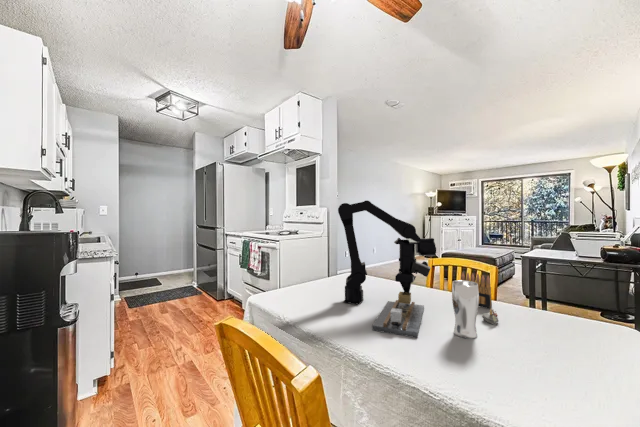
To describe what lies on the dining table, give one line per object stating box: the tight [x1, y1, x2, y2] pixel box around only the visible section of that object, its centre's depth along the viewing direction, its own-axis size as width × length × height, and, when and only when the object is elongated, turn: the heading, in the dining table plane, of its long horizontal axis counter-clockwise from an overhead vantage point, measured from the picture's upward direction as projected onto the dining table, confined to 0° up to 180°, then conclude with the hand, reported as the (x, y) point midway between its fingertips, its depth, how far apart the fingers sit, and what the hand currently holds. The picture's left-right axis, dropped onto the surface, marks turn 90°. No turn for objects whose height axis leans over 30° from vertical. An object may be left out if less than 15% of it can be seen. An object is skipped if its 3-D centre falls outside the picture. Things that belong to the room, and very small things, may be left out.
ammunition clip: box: [460, 271, 493, 310], centre depth 108 cm, size 11×2×12 cm, turn 44°
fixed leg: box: [391, 308, 402, 324], centre depth 87 cm, size 3×3×4 cm
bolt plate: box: [371, 299, 425, 339], centre depth 94 cm, size 13×25×2 cm, turn 156°
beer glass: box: [451, 279, 479, 340], centre depth 82 cm, size 7×7×15 cm
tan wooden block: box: [397, 291, 412, 304], centre depth 104 cm, size 4×4×3 cm
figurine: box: [481, 306, 499, 325], centre depth 91 cm, size 5×4×6 cm
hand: (407, 295), depth 111 cm, fingers closed
